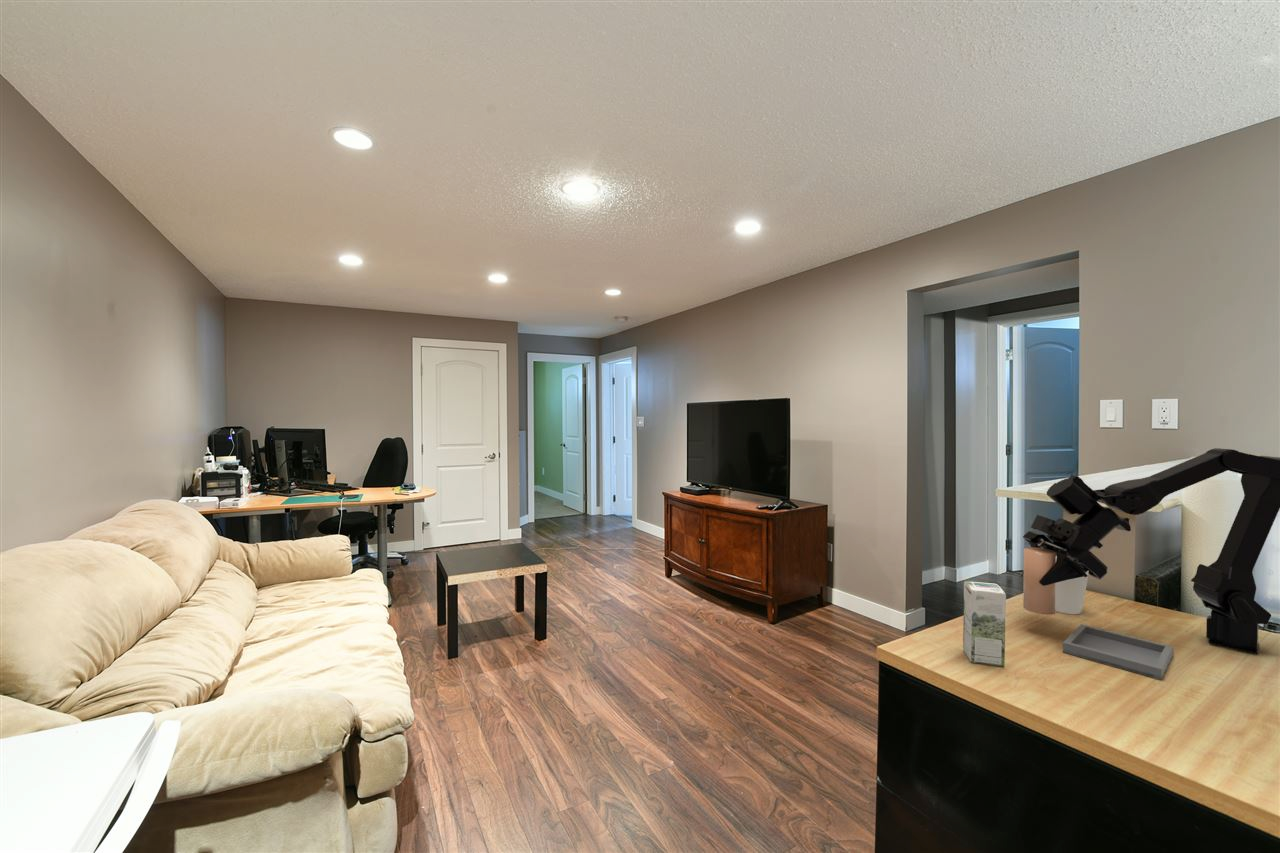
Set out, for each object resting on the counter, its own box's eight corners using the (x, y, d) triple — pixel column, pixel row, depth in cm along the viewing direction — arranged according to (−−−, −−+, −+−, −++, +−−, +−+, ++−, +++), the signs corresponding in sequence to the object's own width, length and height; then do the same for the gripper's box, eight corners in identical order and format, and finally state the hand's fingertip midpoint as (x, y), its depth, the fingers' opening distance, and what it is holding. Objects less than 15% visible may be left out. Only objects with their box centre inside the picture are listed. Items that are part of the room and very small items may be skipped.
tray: (1173, 656, 101) (1173, 646, 101) (1161, 680, 93) (1161, 669, 93) (1081, 633, 112) (1081, 624, 112) (1062, 652, 104) (1063, 642, 104)
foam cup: (1100, 616, 121) (1101, 561, 121) (1060, 617, 121) (1060, 561, 121) (1067, 601, 130) (1068, 550, 130) (1030, 602, 131) (1030, 550, 130)
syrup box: (995, 654, 103) (996, 582, 103) (1005, 668, 98) (1006, 592, 97) (962, 650, 105) (963, 579, 105) (970, 663, 100) (971, 589, 99)
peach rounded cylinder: (1058, 610, 113) (1058, 550, 112) (1050, 616, 109) (1051, 555, 109) (1027, 603, 117) (1028, 546, 117) (1019, 609, 114) (1020, 550, 113)
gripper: (1032, 496, 121) (981, 542, 123) (1091, 511, 103) (1031, 566, 104) (1068, 530, 121) (1017, 576, 122) (1135, 551, 102) (1073, 605, 104)
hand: (1032, 579), depth 113 cm, fingers closed on peach rounded cylinder, 5 cm apart
